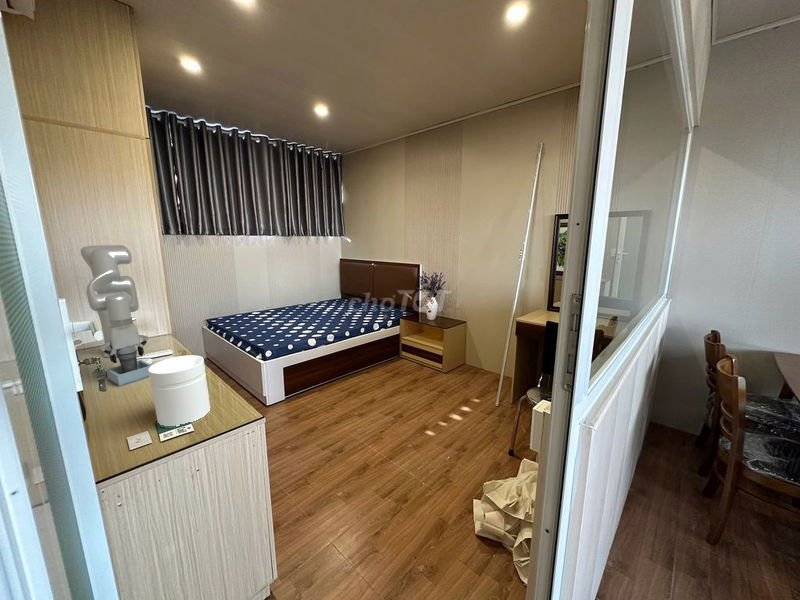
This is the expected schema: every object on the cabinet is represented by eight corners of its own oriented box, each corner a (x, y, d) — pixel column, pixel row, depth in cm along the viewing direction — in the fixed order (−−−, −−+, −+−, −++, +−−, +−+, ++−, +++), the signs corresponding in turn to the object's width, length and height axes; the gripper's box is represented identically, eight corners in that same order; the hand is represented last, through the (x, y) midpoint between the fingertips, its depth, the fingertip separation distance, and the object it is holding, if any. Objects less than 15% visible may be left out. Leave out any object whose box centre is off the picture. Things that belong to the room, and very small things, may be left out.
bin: (108, 379, 144) (106, 369, 143) (142, 369, 155) (140, 359, 154) (119, 386, 137) (117, 376, 136) (154, 375, 148) (153, 365, 147)
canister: (153, 416, 115) (143, 364, 111) (202, 399, 126) (195, 351, 122) (163, 434, 104) (153, 378, 100) (217, 414, 116) (209, 363, 112)
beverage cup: (132, 379, 142) (124, 336, 138) (116, 379, 142) (107, 336, 138) (145, 372, 149) (138, 331, 145) (130, 372, 149) (122, 331, 145)
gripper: (141, 317, 150) (147, 351, 153) (92, 326, 135) (100, 363, 139) (148, 319, 146) (154, 354, 149) (98, 328, 131) (106, 367, 135)
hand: (128, 358), depth 144 cm, fingers open, 9 cm apart
